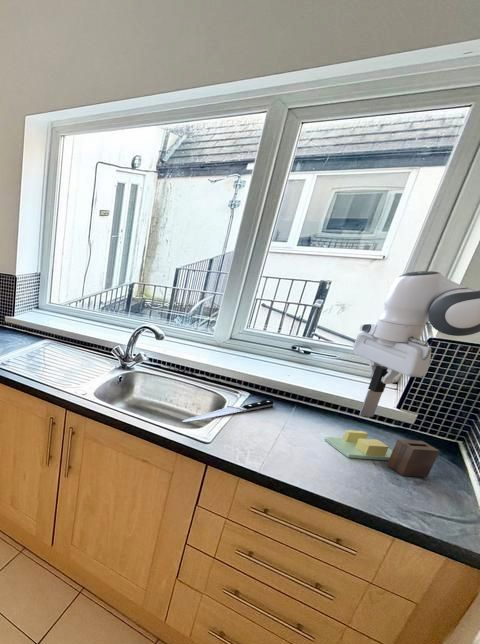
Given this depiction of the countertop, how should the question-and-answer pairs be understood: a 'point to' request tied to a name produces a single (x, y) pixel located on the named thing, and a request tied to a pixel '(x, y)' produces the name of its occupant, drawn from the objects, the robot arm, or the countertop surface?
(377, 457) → the butter dish
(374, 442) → the butter block
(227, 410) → the steak knife
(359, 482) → the countertop surface
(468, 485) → the countertop surface
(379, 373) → the knife
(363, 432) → the butter slice
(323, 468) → the countertop surface
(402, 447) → the knife block
